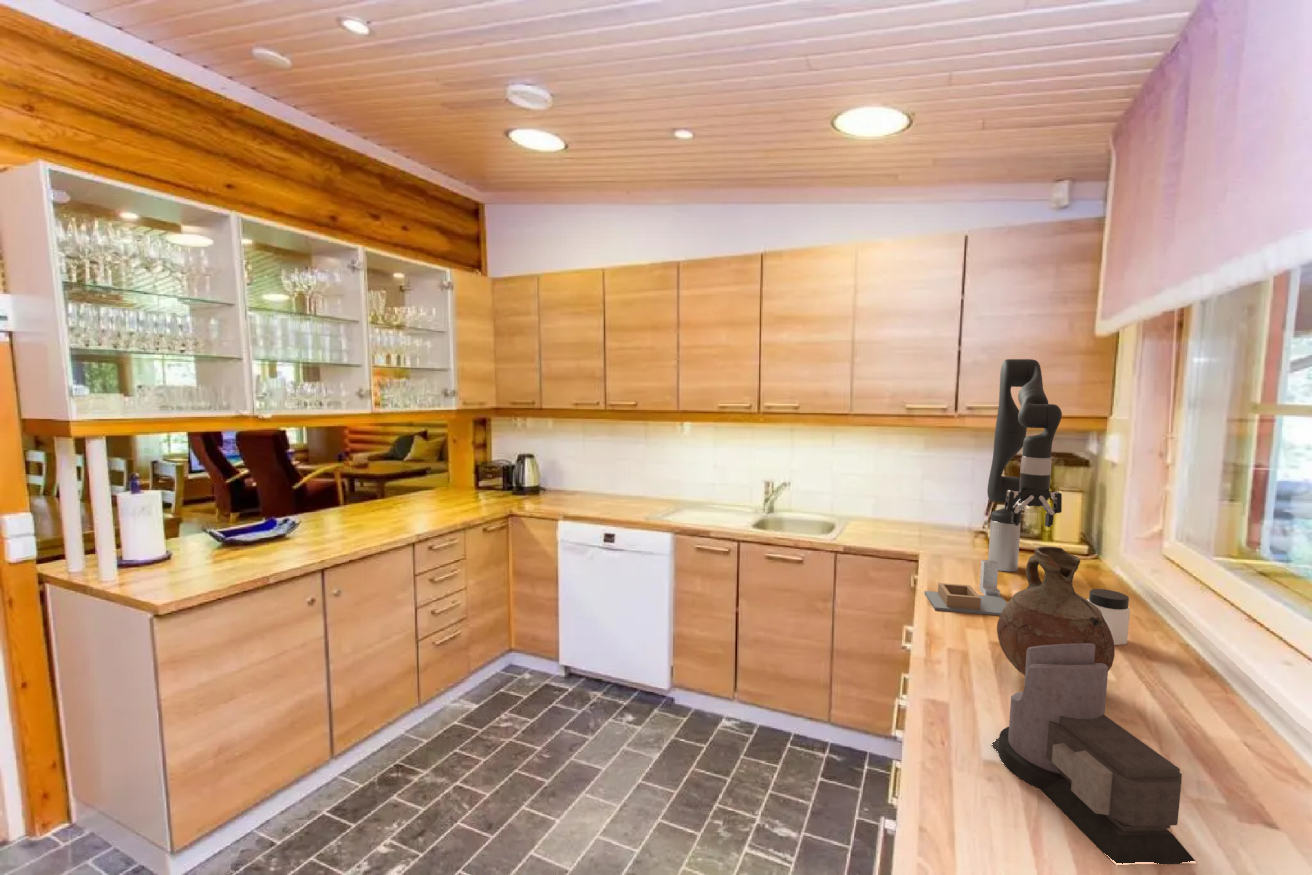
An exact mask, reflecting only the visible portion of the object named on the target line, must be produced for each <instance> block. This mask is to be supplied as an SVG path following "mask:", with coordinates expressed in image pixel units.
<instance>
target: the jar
mask: <svg viewBox="0 0 1312 875" xmlns="http://www.w3.org/2000/svg"><path fill="white" fill-rule="evenodd" d="M1086 600H1088V601H1089V602H1091V603H1092V604H1093V605H1095V606H1096V607H1097V608H1098V609H1099V610H1100V611H1101V613H1102V616H1103V618H1104V620H1105V622H1106V623H1107V625H1108V627H1109V629H1110V631H1111V634H1112V637H1113V641H1114V646H1121V645H1127V644H1128V637H1129V625H1130V614H1131V611H1130V610H1131V609H1130V608H1129V602H1130V598H1129V596H1128V595H1126V594H1125V593H1122V592H1120V591H1115V590H1111V589H1105V588H1104V589H1103V588H1092V589H1090V590H1089V592H1088V598H1087V599H1086Z"/></svg>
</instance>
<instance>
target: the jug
mask: <svg viewBox="0 0 1312 875" xmlns="http://www.w3.org/2000/svg"><path fill="white" fill-rule="evenodd" d="M1080 564H1081V560H1080V558H1079V557H1077V556H1076V555H1073V554H1071V553H1069V552H1067V551H1066V550H1064V548H1062V547H1057V546H1047V545H1046V546H1045V545H1044V546H1038V547H1036V548H1034V554H1033V555H1031V556H1029V558H1028V560H1027V563H1026V567H1025V574H1026V579H1027V580H1026V581H1027V583H1028V584H1027V587H1026V588H1024V589H1022V590H1020V591H1017V592H1015V593H1014V595H1012V597H1010V600H1009V601H1008V602H1007V605H1006V606H1005V608H1004V609H1003V611H1002V613H1001V615H1000V616H999V618H998V619H997V624H996V634H997V639H998V643H999V646H1000V648H1001V650H1002V652H1003V654H1004V655H1005V657H1006V659H1007V660H1008V661H1009V663H1011V665H1012V666H1013V667H1014V668H1015V669H1016V670H1017V671H1018V672H1019V673H1020V674H1022V675H1023V676H1024V677H1025V669H1026V655H1027V649H1028V648H1029V647H1034V646H1042V645H1054V644H1073V643H1091V644H1094V645H1095V658H1094V663H1102V664H1105V665H1106V666H1107V667H1108V672H1109V671H1110V670H1111V669H1112V666H1113V664H1114V659H1115V656H1116V655H1115V654H1116V653H1115V650H1116V648H1115V645H1114V641H1113V637H1112V634H1111V631H1110V629H1109V627H1108V625H1107V623H1106V622H1105V620H1104V618H1103V616H1102V613H1101V611H1100V610H1099V609H1098V608H1097V607H1096V606H1095V605H1093V604H1092V603H1091V602H1089V601H1088V600H1087V599H1086V598H1085V597H1083V596H1082V595H1081V594H1078V593H1077V592H1076V591H1075V588H1074V585H1073V582H1074V581H1073V579H1074V575H1075V573H1076V572H1077V571H1078V569H1079V566H1080ZM1039 566H1040V567H1041V568H1042V569H1043V571H1044V578H1043V580H1041V578H1040V577H1039V576H1040V575H1039V568H1038V567H1039Z"/></svg>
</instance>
